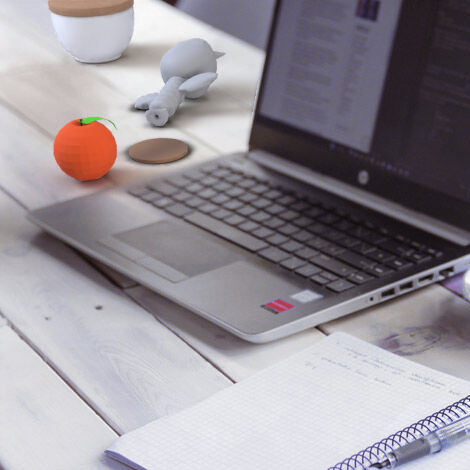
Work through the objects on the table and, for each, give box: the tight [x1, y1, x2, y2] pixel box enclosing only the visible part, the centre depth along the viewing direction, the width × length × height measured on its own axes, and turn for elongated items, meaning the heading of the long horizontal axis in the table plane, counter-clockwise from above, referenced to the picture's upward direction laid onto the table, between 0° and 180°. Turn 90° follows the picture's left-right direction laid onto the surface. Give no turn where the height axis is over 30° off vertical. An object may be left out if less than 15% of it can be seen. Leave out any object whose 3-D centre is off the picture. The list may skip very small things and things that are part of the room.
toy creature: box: [134, 37, 227, 127], centre depth 129 cm, size 13×7×20 cm
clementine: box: [52, 116, 118, 182], centre depth 107 cm, size 8×7×7 cm
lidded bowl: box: [47, 0, 135, 64], centre depth 146 cm, size 13×13×11 cm
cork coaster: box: [128, 137, 189, 164], centre depth 115 cm, size 7×7×1 cm
